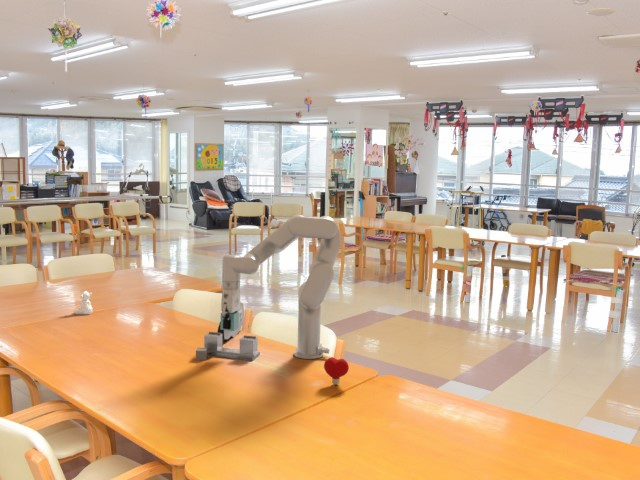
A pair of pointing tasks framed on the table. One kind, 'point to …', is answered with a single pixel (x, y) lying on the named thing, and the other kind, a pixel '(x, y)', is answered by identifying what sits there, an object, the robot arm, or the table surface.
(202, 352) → the block
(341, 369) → the light bulb
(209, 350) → the board
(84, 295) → the white creature statuette
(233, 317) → the module
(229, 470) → the table surface
